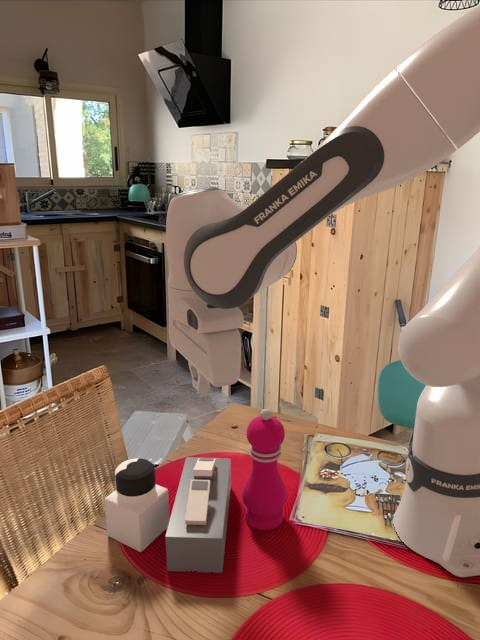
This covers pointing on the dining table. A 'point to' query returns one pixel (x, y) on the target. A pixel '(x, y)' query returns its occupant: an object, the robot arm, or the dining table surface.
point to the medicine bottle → (136, 505)
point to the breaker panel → (200, 540)
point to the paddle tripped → (204, 467)
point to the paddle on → (197, 502)
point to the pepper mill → (264, 473)
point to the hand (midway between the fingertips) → (201, 390)
